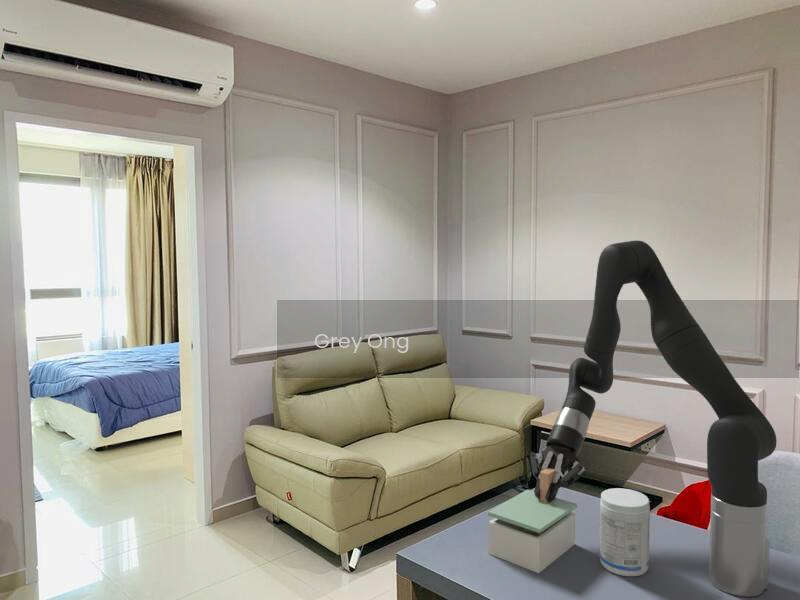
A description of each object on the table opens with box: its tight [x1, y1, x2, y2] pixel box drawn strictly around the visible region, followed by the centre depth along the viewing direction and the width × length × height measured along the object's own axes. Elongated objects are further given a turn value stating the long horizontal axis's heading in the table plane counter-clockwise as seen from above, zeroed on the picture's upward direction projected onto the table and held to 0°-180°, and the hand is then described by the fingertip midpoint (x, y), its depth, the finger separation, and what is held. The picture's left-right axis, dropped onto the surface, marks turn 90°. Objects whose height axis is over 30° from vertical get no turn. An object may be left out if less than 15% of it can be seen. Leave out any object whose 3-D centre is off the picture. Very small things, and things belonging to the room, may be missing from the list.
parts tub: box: [488, 511, 576, 574], centre depth 129 cm, size 16×12×7 cm
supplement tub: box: [599, 487, 651, 577], centre depth 121 cm, size 10×10×15 cm
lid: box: [487, 468, 578, 533], centre depth 129 cm, size 16×12×8 cm
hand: (542, 498), depth 132 cm, fingers closed on lid
